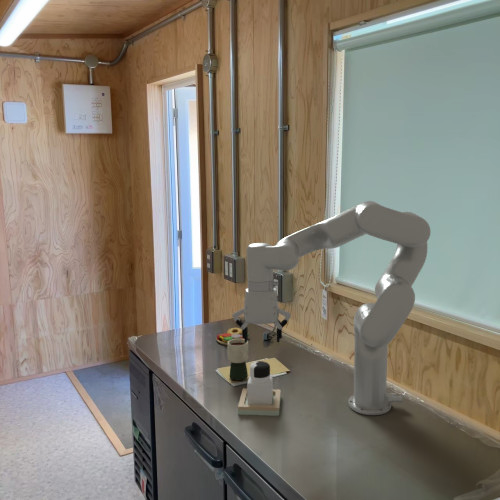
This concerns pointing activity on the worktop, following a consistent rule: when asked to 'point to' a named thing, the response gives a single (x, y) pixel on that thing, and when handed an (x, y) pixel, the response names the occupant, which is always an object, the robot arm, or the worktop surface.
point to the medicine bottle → (260, 384)
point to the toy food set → (230, 335)
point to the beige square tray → (259, 409)
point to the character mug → (238, 358)
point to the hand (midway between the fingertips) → (262, 340)
